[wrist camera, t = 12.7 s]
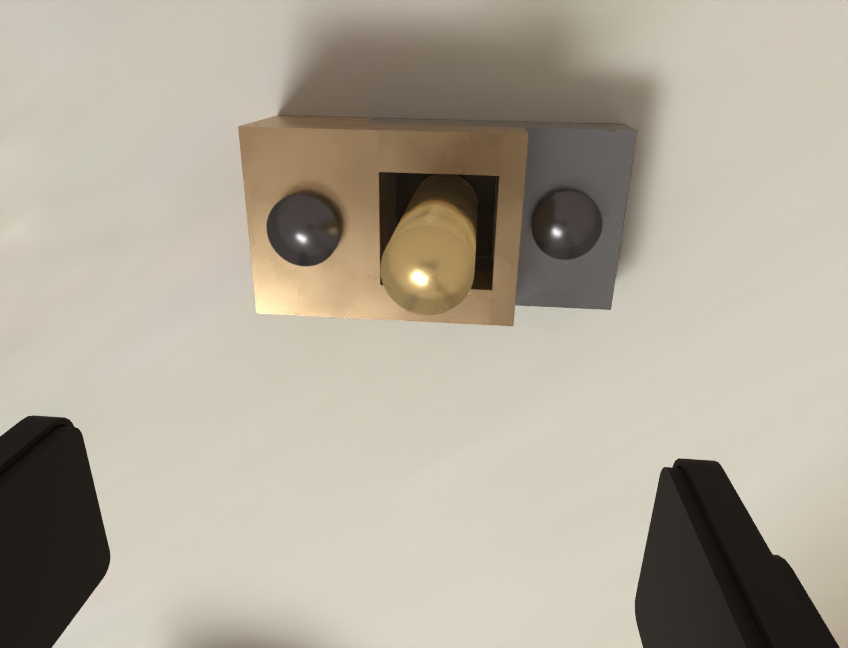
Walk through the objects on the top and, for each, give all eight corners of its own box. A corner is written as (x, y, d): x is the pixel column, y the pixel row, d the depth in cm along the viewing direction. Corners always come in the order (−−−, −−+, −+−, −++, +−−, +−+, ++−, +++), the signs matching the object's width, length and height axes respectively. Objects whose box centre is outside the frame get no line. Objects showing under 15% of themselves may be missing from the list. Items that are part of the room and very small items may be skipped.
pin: (479, 174, 29) (476, 227, 20) (476, 239, 31) (472, 317, 22) (412, 172, 30) (379, 223, 21) (411, 237, 31) (380, 312, 22)
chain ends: (624, 124, 28) (655, 139, 23) (601, 291, 31) (624, 337, 26) (276, 115, 29) (232, 128, 24) (289, 276, 32) (252, 318, 27)
